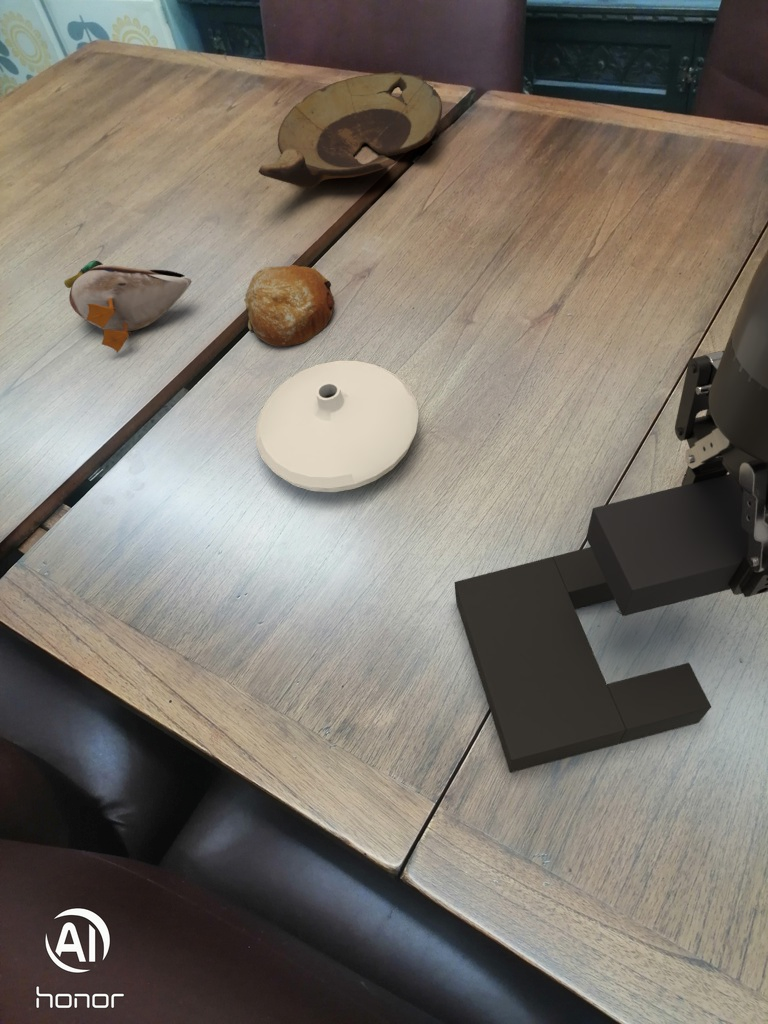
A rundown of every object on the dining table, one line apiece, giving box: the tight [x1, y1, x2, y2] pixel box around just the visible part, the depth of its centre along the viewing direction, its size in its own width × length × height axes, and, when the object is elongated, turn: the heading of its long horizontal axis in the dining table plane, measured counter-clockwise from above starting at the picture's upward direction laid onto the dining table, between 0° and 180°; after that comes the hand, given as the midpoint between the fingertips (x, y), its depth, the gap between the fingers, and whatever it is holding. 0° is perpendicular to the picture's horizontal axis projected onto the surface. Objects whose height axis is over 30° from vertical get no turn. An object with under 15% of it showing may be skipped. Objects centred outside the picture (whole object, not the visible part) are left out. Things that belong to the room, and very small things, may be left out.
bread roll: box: [243, 264, 335, 348], centre depth 78 cm, size 10×10×8 cm
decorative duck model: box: [63, 260, 192, 353], centre depth 81 cm, size 15×8×15 cm
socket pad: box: [454, 546, 712, 773], centre depth 52 cm, size 14×14×4 cm
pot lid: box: [255, 360, 420, 493], centre depth 65 cm, size 16×16×7 cm
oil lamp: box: [258, 70, 443, 189], centre depth 94 cm, size 22×30×8 cm
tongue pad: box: [586, 473, 768, 617], centre depth 43 cm, size 10×6×4 cm, turn 102°
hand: (719, 541), depth 44 cm, fingers closed on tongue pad, 6 cm apart
